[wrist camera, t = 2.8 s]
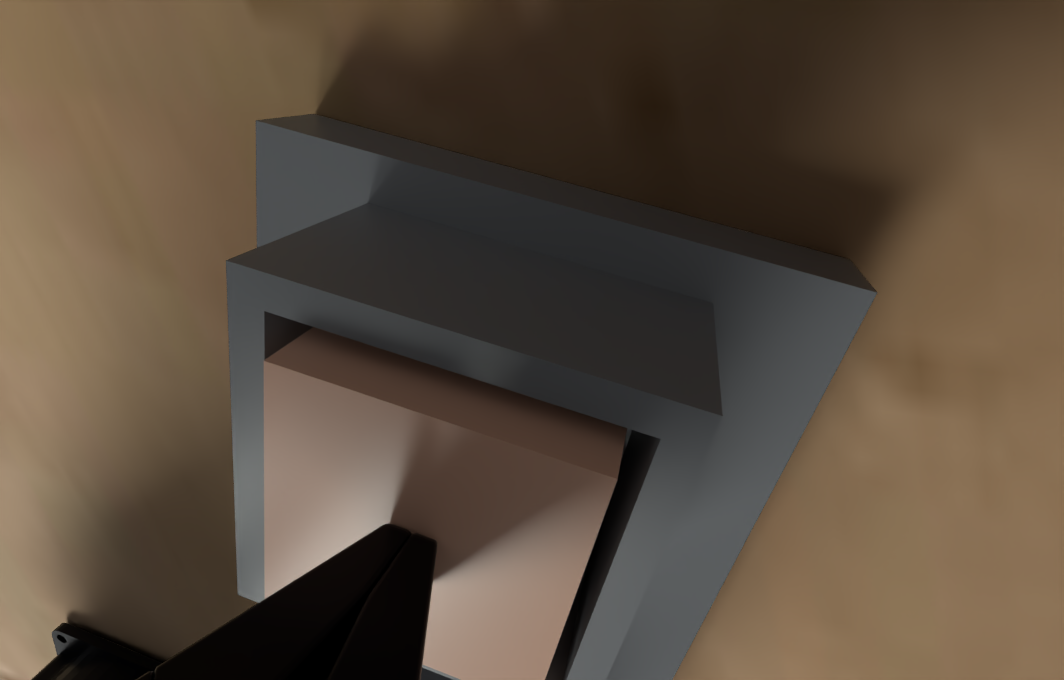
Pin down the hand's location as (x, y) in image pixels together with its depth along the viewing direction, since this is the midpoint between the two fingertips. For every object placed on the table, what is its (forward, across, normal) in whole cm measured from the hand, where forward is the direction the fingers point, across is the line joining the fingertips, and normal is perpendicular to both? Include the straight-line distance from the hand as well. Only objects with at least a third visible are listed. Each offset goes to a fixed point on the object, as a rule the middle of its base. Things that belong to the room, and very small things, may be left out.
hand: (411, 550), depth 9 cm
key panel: (+6, 0, +6) cm, 9 cm away
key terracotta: (+3, 0, 0) cm, 3 cm away
